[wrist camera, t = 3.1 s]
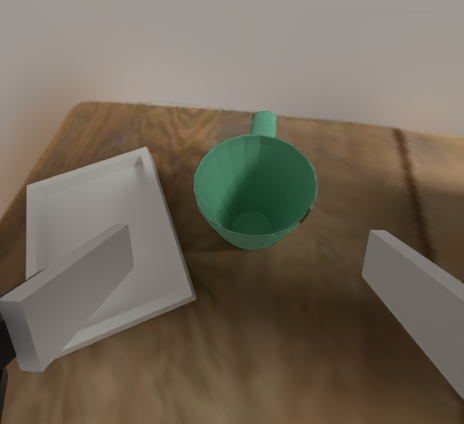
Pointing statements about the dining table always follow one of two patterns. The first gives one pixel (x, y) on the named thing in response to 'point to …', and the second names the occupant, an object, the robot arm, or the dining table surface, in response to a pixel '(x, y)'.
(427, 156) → the dining table surface
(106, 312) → the cradle tray
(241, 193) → the mug
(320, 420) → the dining table surface
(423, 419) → the dining table surface
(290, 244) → the dining table surface
